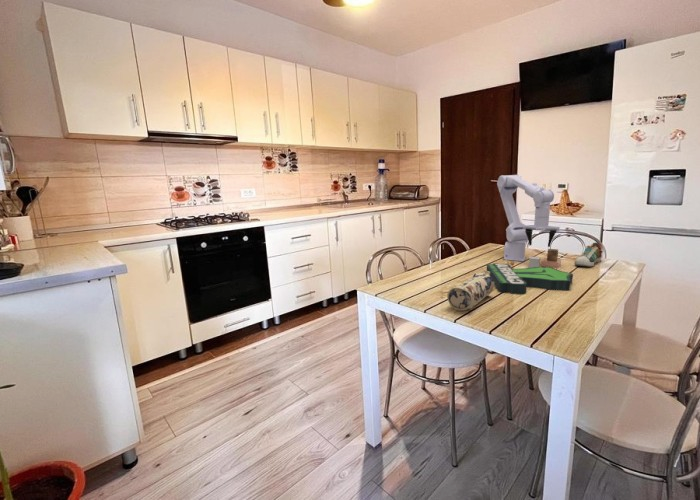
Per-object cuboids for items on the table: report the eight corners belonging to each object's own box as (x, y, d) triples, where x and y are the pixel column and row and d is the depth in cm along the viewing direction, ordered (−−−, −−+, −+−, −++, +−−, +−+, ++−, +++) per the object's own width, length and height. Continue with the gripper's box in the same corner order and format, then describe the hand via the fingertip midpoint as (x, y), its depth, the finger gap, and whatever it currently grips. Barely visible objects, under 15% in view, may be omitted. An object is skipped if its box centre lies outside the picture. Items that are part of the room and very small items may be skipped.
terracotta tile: (540, 267, 160) (541, 260, 159) (544, 263, 165) (544, 257, 165) (557, 269, 156) (558, 262, 155) (560, 265, 161) (561, 259, 160)
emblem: (485, 263, 155) (557, 264, 149) (485, 272, 156) (557, 273, 149) (500, 283, 126) (591, 285, 120) (500, 294, 127) (589, 297, 121)
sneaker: (569, 266, 158) (571, 246, 156) (585, 258, 171) (588, 239, 169) (588, 269, 152) (590, 248, 150) (603, 261, 165) (606, 241, 163)
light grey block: (528, 268, 157) (529, 258, 156) (530, 266, 160) (530, 256, 159) (538, 269, 155) (539, 259, 153) (539, 267, 158) (540, 257, 157)
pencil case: (472, 292, 129) (473, 267, 127) (494, 297, 124) (496, 271, 121) (445, 310, 114) (445, 282, 111) (469, 316, 108) (470, 287, 106)
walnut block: (546, 260, 159) (547, 250, 158) (547, 258, 162) (548, 248, 161) (556, 261, 157) (557, 251, 156) (557, 259, 160) (558, 249, 159)
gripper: (522, 217, 156) (520, 246, 159) (559, 218, 147) (556, 248, 150) (525, 215, 161) (523, 243, 164) (560, 216, 153) (558, 245, 156)
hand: (539, 245), depth 158 cm, fingers open, 7 cm apart
